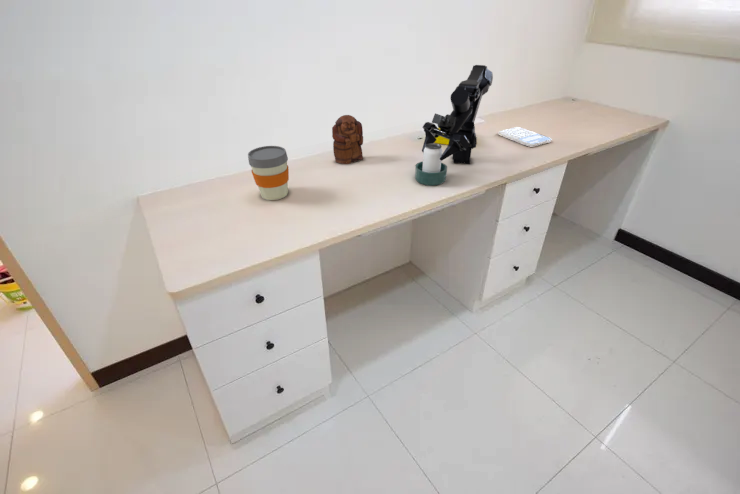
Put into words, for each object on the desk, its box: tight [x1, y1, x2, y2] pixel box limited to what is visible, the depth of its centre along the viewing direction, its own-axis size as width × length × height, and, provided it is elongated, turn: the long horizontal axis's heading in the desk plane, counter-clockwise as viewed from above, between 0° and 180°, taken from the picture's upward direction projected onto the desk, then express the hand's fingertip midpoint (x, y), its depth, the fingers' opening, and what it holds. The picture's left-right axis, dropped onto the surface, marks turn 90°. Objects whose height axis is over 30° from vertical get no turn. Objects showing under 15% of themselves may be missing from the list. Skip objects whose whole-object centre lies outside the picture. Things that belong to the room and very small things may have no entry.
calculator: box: [498, 126, 553, 148], centre depth 169 cm, size 13×20×2 cm, turn 29°
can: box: [422, 143, 443, 173], centre depth 133 cm, size 6×6×12 cm
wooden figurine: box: [331, 114, 364, 165], centre depth 147 cm, size 12×6×18 cm, turn 120°
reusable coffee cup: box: [247, 145, 290, 201], centre depth 125 cm, size 12×13×15 cm
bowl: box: [414, 160, 448, 187], centre depth 135 cm, size 11×11×5 cm
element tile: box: [434, 126, 449, 146], centre depth 168 cm, size 15×15×5 cm
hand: (431, 155), depth 131 cm, fingers open, 9 cm apart
